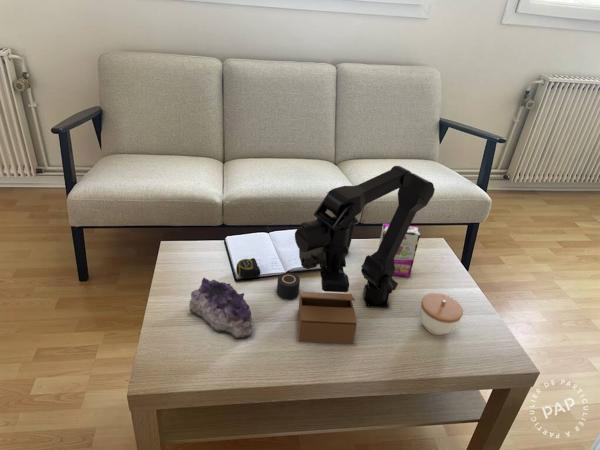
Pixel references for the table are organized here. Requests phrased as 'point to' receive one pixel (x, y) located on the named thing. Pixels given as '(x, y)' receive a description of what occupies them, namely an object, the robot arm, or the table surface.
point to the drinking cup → (350, 234)
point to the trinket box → (440, 313)
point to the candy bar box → (404, 251)
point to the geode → (222, 308)
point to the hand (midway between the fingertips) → (328, 290)
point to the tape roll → (288, 286)
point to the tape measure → (248, 268)
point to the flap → (327, 295)
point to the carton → (326, 320)
